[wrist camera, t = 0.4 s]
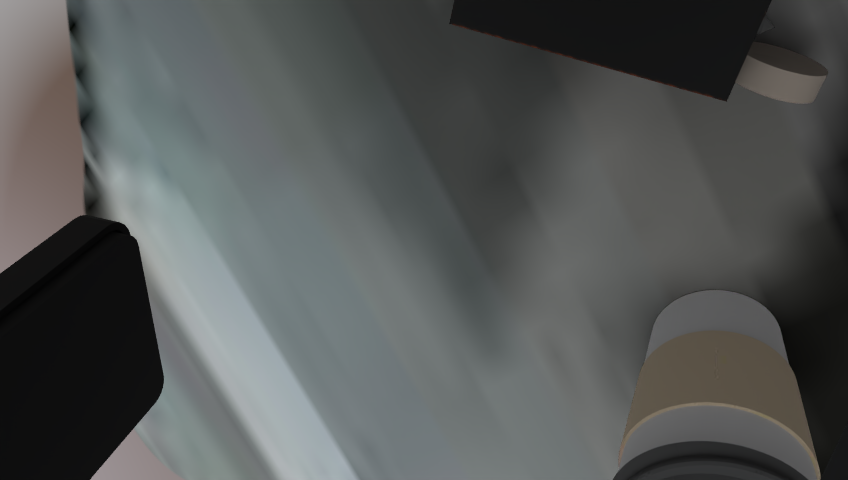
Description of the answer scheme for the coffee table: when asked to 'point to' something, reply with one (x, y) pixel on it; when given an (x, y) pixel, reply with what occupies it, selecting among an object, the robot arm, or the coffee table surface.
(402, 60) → the coffee table surface
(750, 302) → the coffee cup
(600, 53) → the figurine character
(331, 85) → the coffee table surface
